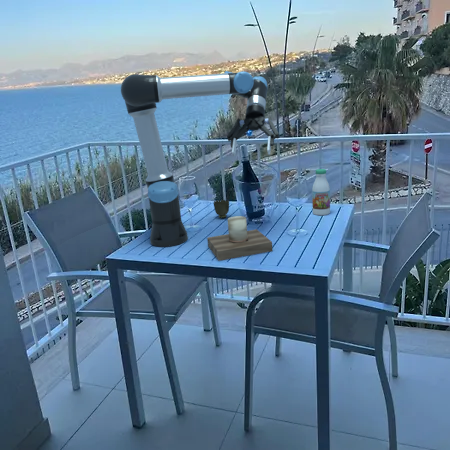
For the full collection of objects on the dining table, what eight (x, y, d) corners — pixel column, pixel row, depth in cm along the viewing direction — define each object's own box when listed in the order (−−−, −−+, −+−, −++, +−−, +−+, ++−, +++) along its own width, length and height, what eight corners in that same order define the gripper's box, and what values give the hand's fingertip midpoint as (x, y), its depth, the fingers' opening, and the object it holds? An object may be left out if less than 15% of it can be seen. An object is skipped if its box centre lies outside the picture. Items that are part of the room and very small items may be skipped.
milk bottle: (310, 212, 188) (309, 169, 182) (325, 210, 189) (325, 167, 183) (316, 216, 181) (315, 172, 175) (332, 214, 182) (332, 170, 176)
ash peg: (227, 246, 153) (225, 217, 150) (244, 243, 155) (242, 215, 151) (232, 252, 147) (230, 222, 143) (250, 249, 148) (248, 219, 145)
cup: (228, 219, 187) (227, 203, 184) (213, 220, 188) (211, 203, 186) (231, 215, 194) (230, 198, 191) (216, 215, 195) (215, 199, 193)
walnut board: (208, 246, 156) (207, 237, 155) (257, 237, 161) (256, 229, 160) (218, 260, 141) (217, 251, 140) (272, 251, 146) (272, 241, 145)
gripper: (287, 114, 164) (284, 157, 155) (227, 118, 170) (221, 160, 161) (285, 101, 157) (282, 145, 148) (223, 105, 164) (216, 148, 155)
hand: (250, 153), depth 155 cm, fingers open, 13 cm apart
